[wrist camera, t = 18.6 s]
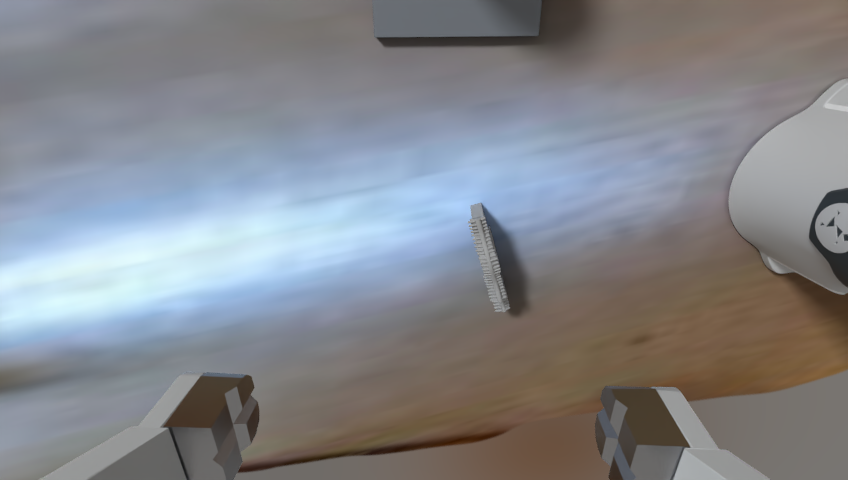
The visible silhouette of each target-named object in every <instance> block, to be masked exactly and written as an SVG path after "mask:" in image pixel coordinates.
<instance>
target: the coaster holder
mask: <svg viewBox="0 0 848 480" xmlns="http://www.w3.org/2000/svg"><path fill="white" fill-rule="evenodd" d="M372 1H373V21H374V37H482V36H539V27H540V16H541V5H542V0H372Z"/></svg>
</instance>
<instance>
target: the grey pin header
mask: <svg viewBox="0 0 848 480" xmlns="http://www.w3.org/2000/svg"><path fill="white" fill-rule="evenodd" d="M470 207H471V215H472V219H470V221H468V223H471V225H469V227H471V226H472V228H470V230H473V231H471V233H474V234H472V236H474V237H475V238H473V240H475V242H474V244H476V246H475V248H477V250H476V252H478V253H477V254H478V255H479V259H480V263H481V267H482V268H483V269H482V270H483V273H485V274H484V276H483V278H486V279H484V281H485V283H488V284H486V286H487V288H490V290H487V291H489V292H491V293H488V294H491V296H489V298H492V299H490V301H492V302H493V303H494V302H495V304H493V305H495V306H496V307H494V309H497V310H495V312H502V311H503V312H506V310H508V309H510V307H509V301H508V296H507V292H506V289H505V285H504V281H503V277H502V276H501V275H500V272H501V271H499V270H500V264H499V260H498V256H497V252H496V248H495V244H494V240H493V236H492V233H491V229H490V226H487V223H486V219H485V216H484V212H483V208H482V205H481V203H478V204H474V205H471V206H470ZM486 280H487V281H486ZM488 285H489V286H488Z"/></svg>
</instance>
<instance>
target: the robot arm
mask: <svg viewBox="0 0 848 480" xmlns="http://www.w3.org/2000/svg"><path fill="white" fill-rule="evenodd" d="M729 212H730V217H731V220H732V222H733V224H734V226H735V228H736V230H737V231H738V232H739V234H740V235H741V236H742V237H743V238H744V239H746V240H747V241H748V242H750V243H751V244H752V245H754V246H755V247H756V248H757V249H758V250H759V252H760V254H761V257H762V259H763V262H764V264H765V265H766V267H767V268H769V269H770V270H772V271H774V272H776V273H779V274H784V273H792V272H796V273H798V274H800V275H802V276H803V277H805V278H807V279H809V280H811V281H813V282H815V283H817V284H818V285H820V286H822V287H824V288H826V289H828V290H830V291H832V292H834V293H837V294H841V295H845V294H846V293H848V79H843V80H840V81H838V82H837V83H835V84H834V85H832V86H831V87H830V88H829V89H828V90H827V91H825V92H824V93H823V94H822V95H821V96H820V97H819V98H818V99H817V100H816V101H815V102H814V103H813V104H812V105H811V106H810V107H809V108H807V109H806V110H804V111H802V112H801V113H799V114H797V115H795V116H793V117H791V118H790V119H788V120H786V121H784V122H783V123H781V124H779V125H778V126H776V127H775V128H773V129H772V130H771V131H770V132H768V133H767V134H766V135H765V136H763V137H762V138H761V139H760V140H759V141H758V142H757V143H756V144H755V145H754V146H753V147H752V149H751V150H750V151H749V152H748V154H747V155H746V156H745V158H744V159H743V161H742V162H741V164H740V166H739V167H738V169H737V171H736V173H735V176H734V178H733V181H732V184H731V188H730V193H729ZM253 389H254V384H253V381H252V377H251V376H249V375H244V374H227V373H209V372H207V373H200V372H185V373H183V374H181V375H179V376H178V378H177V379H176V380H175V381H174V383H173V384H172V385H171V386H170V387H169V389H168V390H167V391H166V392H165V394H164V395H163V396H162V397H161V399H160V400H159V401H158V402H157V403H156V405H155V406H154V407H153V408H152V410H151V411H150V412H149V413H148V414H147V416H146V417H145V418H144V419H143V421H142V422H141V423H140V424H139V426H138V427H129V428H127V429H126V430H124V431H122V432H121V433H119V434H117V435H115V436H114V437H112V438H110V439H108V440H107V441H105V442H103V443H102V444H100V445H98V446H96V447H95V448H93V449H91V450H90V451H88V452H86V453H84V454H83V455H81V456H79V457H77V458H76V459H74V460H72V461H71V462H69V463H67V464H65V465H64V466H62V467H60V468H58V469H57V470H55V471H53V472H52V473H50V474H48V475H46V476H45V477H43V478H41V479H40V480H233V479H234V478H235V475H236V474H237V472H238V470H239V468H240V466H241V464H242V462H243V461H242V457H241V453H240V452H241V451H243V450H244V449H245V448H246V447H248V446H249V445H250V444H251V443H252V441H253V439H254V437H255V435H256V432H257V428H258V423H259V406H258V402H257V401H256V400H255V399H254V398H253V397H252V396H251V395H250V394H251V393H252V391H253ZM601 402H602V404H603V407H604V408H603V409H602V410H601V411H600V412H599V413H598V414H597V418H596V423H595V433H596V442H597V445H598V450H599V452H600V455H601V458H602V459H603V460H604V461H605V462H607V463H608V464H609V465H610V466H611V468H610V473H609V479H610V480H771V479H769V478H768V477H766V476H765V475H763V474H762V473H760V472H759V471H758V470H756V469H755V468H753V467H752V466H750V465H749V464H747V463H746V462H744V461H743V460H741V459H740V458H738V457H737V456H736V455H734V454H733V453H731V452H730V451H728V450H725V449H723V450H722V449H719V448H718V446H717V445H716V443H715V442H714V440H713V439H712V438H711V436H710V434H709V433H708V432H707V430H706V429H705V427H704V426H703V424H702V423H701V421H700V420H699V418H698V417H697V415H696V414H695V412H694V411H693V409H692V408H691V406H690V405H689V403H688V402H687V400H686V399H685V397H684V396H683V394H682V393H681V392H680V390H678V389H677V388H675V387H651V388H650V387H627V386H605V387H604V389H603V390H602V394H601Z"/></svg>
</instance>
